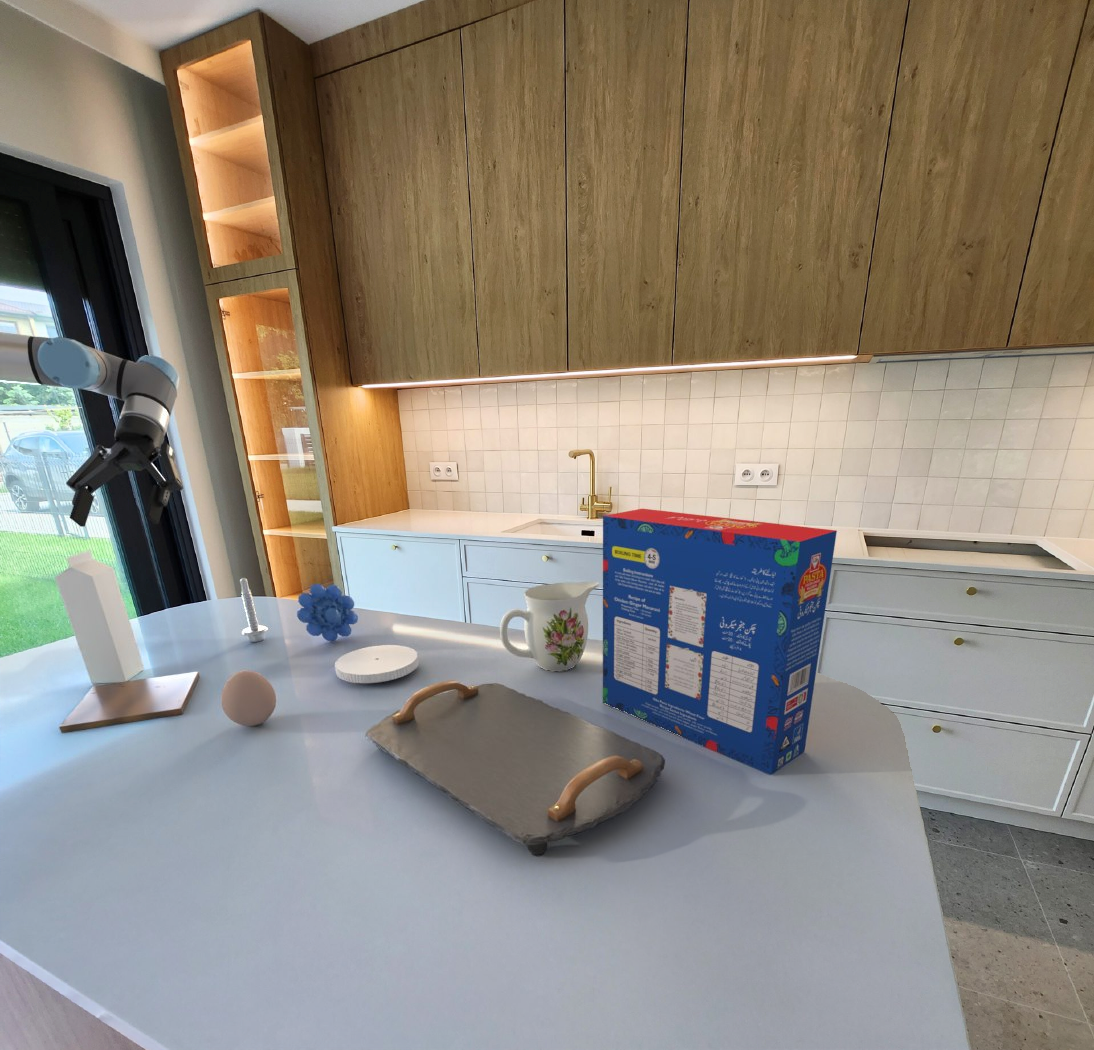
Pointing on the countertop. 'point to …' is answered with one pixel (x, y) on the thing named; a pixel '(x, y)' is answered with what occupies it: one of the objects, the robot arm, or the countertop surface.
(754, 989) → the countertop surface
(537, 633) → the pitcher
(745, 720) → the pasta box
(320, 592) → the blue flower
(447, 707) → the serving tray
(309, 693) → the countertop surface
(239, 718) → the egg
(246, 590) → the screw
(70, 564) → the milk
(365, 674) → the plastic lid
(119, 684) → the board
